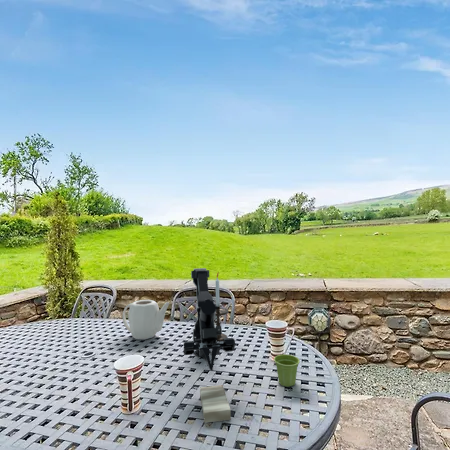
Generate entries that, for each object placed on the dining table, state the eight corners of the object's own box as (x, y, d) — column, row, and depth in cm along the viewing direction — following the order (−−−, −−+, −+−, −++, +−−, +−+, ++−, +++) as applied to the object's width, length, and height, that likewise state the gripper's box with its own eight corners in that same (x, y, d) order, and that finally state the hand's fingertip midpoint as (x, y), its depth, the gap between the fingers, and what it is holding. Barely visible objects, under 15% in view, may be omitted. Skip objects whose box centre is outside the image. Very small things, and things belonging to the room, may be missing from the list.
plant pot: (301, 378, 118) (300, 355, 118) (298, 391, 109) (298, 366, 109) (276, 375, 121) (276, 353, 121) (272, 387, 112) (271, 363, 112)
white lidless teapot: (166, 342, 158) (165, 305, 158) (116, 341, 161) (116, 305, 162) (174, 332, 174) (173, 298, 174) (129, 331, 177) (128, 298, 177)
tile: (200, 387, 107) (204, 412, 92) (222, 384, 108) (230, 409, 94) (200, 397, 107) (204, 424, 92) (223, 394, 108) (230, 420, 94)
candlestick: (227, 334, 169) (225, 270, 169) (230, 341, 158) (228, 272, 158) (207, 335, 167) (206, 270, 168) (209, 342, 157) (207, 273, 157)
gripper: (183, 319, 111) (184, 363, 100) (233, 316, 114) (240, 358, 103) (182, 334, 119) (184, 376, 108) (230, 330, 122) (236, 371, 111)
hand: (211, 370), depth 107 cm, fingers closed
